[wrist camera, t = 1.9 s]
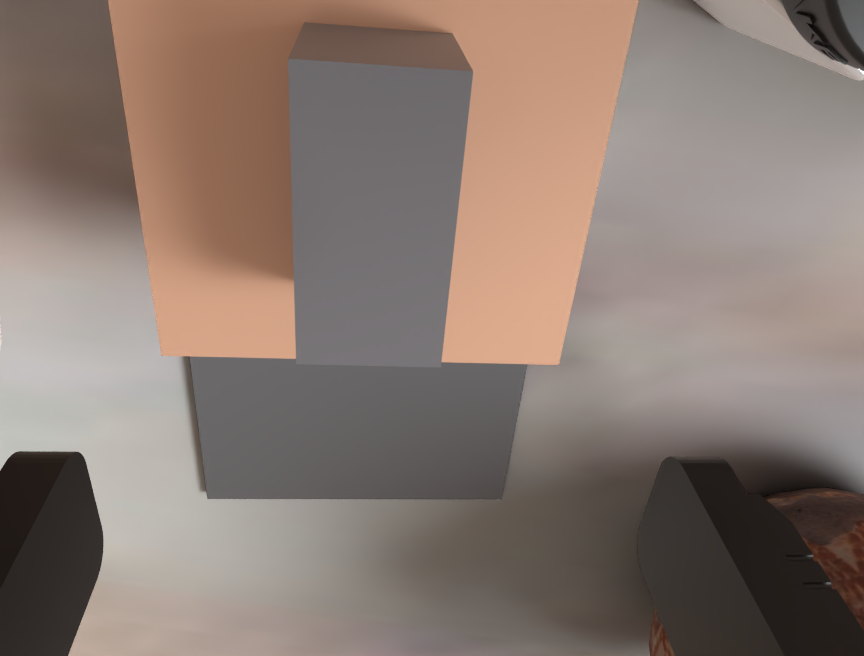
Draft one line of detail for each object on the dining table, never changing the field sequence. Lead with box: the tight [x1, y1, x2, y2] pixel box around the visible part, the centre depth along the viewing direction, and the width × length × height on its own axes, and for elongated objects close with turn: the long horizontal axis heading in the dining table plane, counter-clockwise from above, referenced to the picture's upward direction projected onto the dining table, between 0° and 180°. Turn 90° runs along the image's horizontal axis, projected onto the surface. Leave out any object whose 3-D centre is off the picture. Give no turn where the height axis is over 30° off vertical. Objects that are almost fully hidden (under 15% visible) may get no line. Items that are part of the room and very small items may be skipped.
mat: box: [190, 356, 527, 499], centre depth 37 cm, size 17×15×1 cm
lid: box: [108, 0, 639, 367], centre depth 20 cm, size 14×14×7 cm
